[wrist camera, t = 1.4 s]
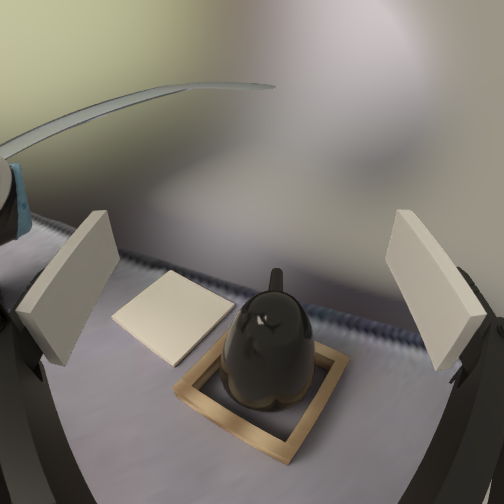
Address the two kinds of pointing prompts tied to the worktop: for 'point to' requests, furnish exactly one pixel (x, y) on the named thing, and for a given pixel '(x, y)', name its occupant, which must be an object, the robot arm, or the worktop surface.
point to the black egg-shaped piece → (269, 351)
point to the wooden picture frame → (240, 427)
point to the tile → (172, 316)
